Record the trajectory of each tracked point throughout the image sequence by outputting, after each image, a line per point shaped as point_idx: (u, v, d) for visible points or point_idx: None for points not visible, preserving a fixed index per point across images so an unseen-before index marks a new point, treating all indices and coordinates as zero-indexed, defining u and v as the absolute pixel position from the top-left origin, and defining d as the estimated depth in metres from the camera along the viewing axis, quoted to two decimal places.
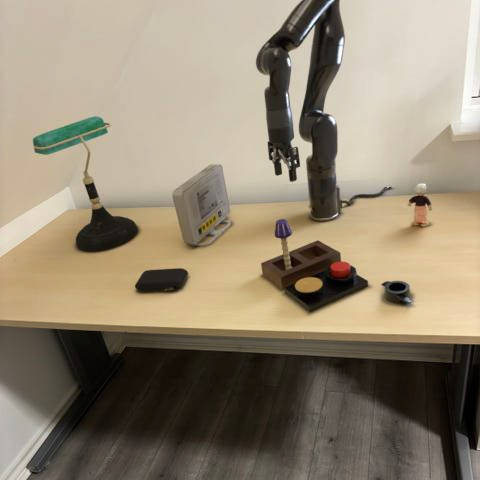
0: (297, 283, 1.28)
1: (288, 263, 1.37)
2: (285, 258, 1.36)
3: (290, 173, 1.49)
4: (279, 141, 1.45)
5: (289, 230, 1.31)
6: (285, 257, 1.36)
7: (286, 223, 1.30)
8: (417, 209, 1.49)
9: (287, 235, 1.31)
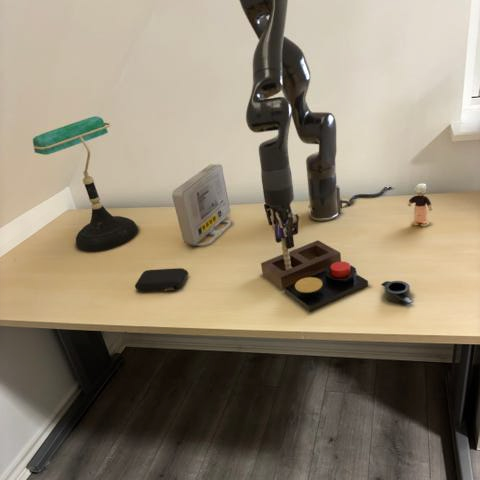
0: (297, 283, 1.28)
1: (288, 263, 1.37)
2: (285, 258, 1.36)
3: (286, 240, 1.30)
4: (276, 204, 1.24)
5: None
6: (285, 257, 1.36)
7: (286, 223, 1.30)
8: (417, 209, 1.49)
9: None
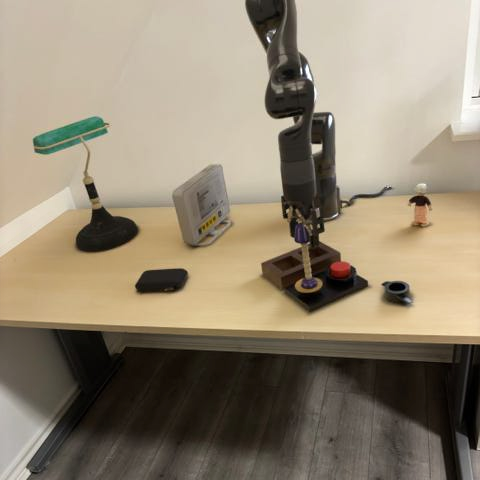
0: (297, 283, 1.28)
1: (308, 271, 1.24)
2: (305, 265, 1.23)
3: (311, 239, 1.15)
4: (297, 200, 1.11)
5: None
6: (305, 264, 1.23)
7: None
8: (417, 209, 1.49)
9: (308, 240, 1.18)
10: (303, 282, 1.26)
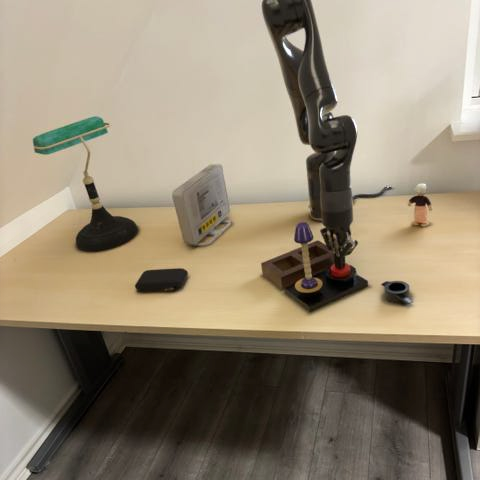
0: (297, 283, 1.28)
1: (308, 271, 1.24)
2: (305, 265, 1.23)
3: (338, 260, 1.27)
4: (336, 226, 1.19)
5: (310, 234, 1.18)
6: (305, 264, 1.23)
7: (307, 227, 1.17)
8: (417, 209, 1.49)
9: (308, 240, 1.18)
10: (303, 282, 1.26)
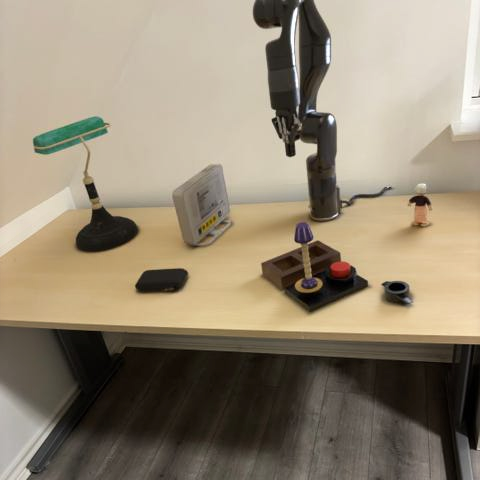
0: (297, 283, 1.28)
1: (308, 271, 1.24)
2: (305, 265, 1.23)
3: (288, 147, 1.32)
4: (283, 107, 1.24)
5: (310, 234, 1.18)
6: (305, 264, 1.23)
7: (307, 227, 1.17)
8: (417, 209, 1.49)
9: (308, 240, 1.18)
10: (303, 282, 1.26)
